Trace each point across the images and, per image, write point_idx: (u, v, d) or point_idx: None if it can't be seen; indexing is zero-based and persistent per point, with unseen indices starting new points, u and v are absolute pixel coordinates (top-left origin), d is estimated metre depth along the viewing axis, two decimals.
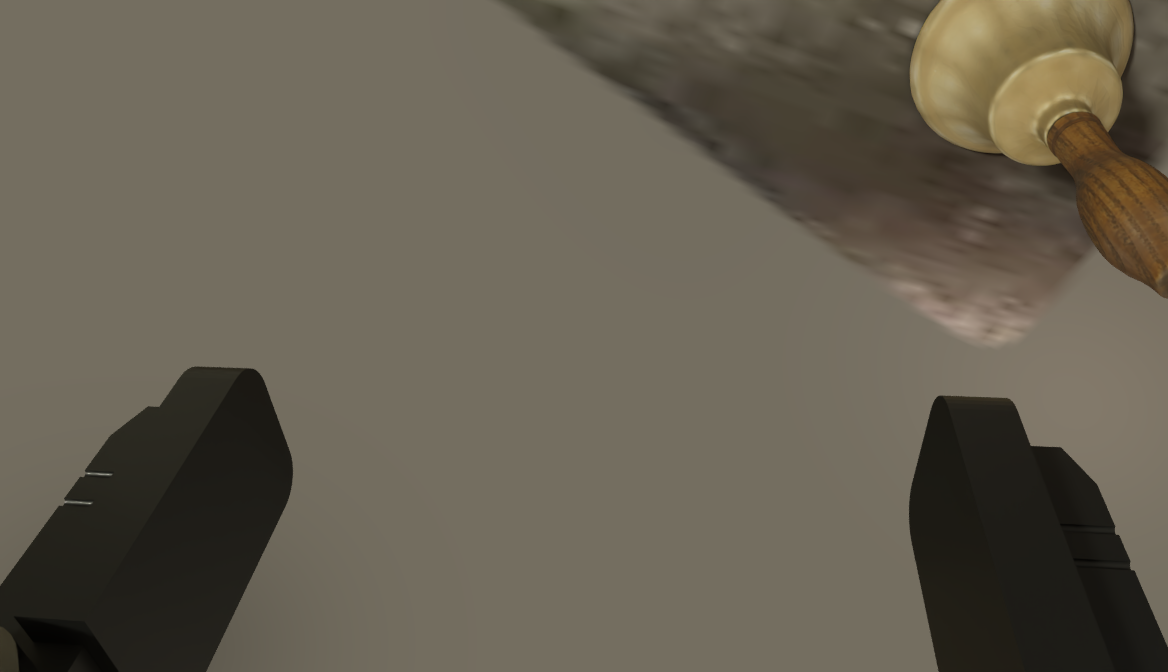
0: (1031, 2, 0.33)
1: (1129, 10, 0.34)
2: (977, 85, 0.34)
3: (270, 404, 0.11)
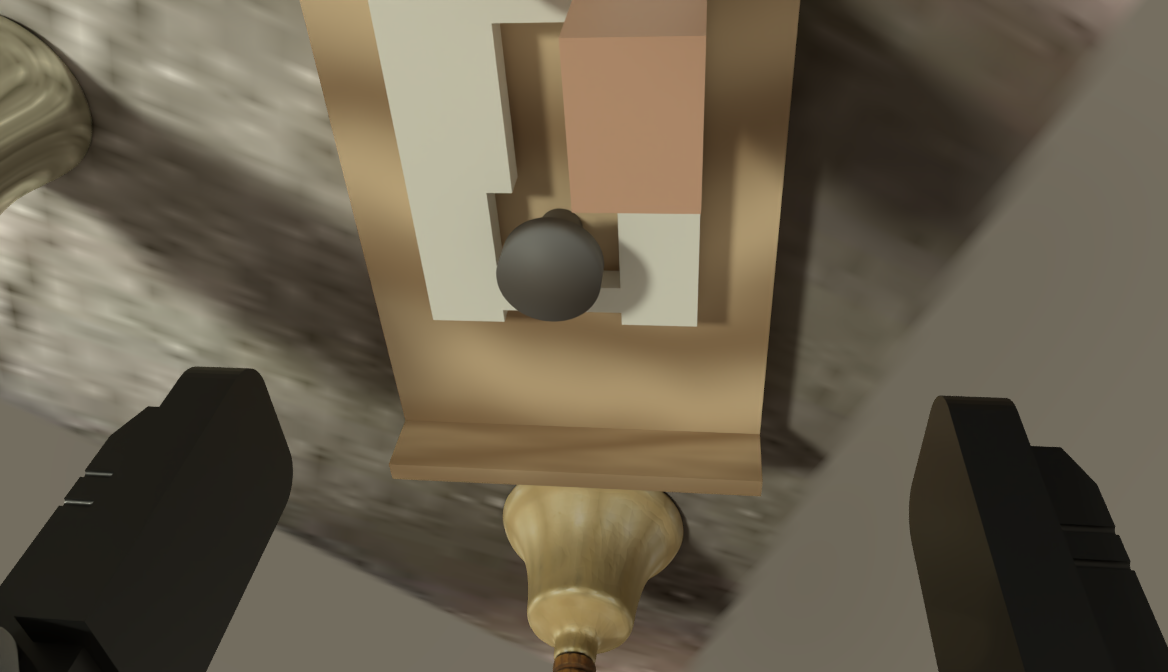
0: (568, 517, 0.38)
1: (668, 507, 0.39)
2: (528, 582, 0.39)
3: (270, 404, 0.11)
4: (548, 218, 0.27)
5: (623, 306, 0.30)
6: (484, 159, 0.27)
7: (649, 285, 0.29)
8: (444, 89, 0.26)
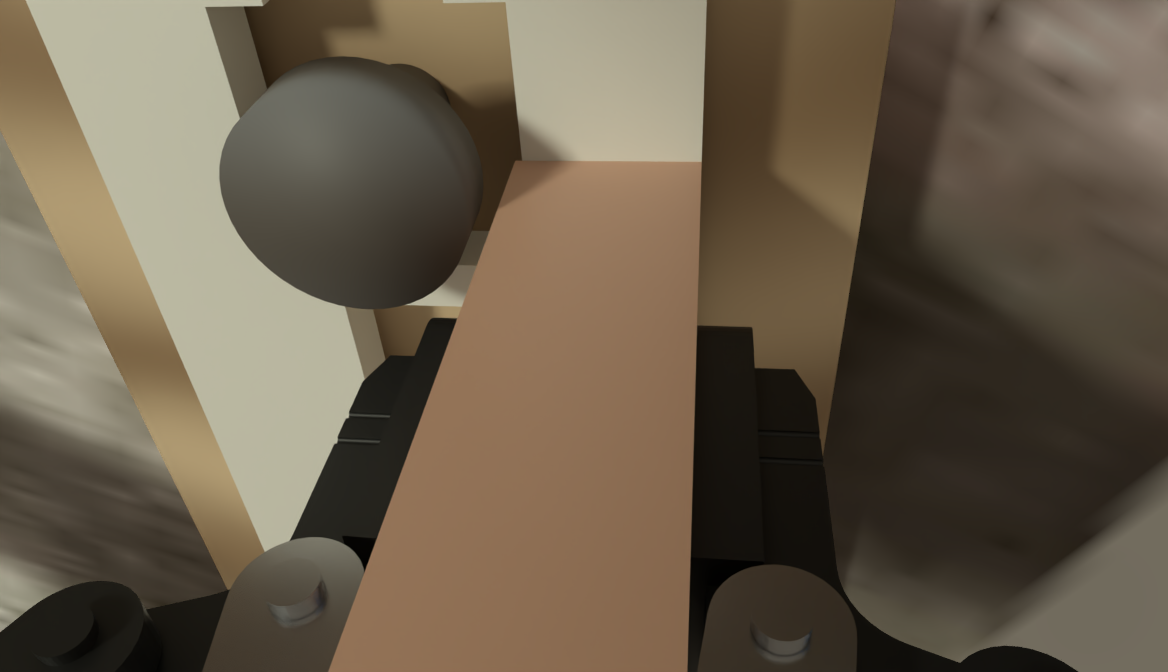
0: None
1: None
2: None
3: None
4: None
5: None
6: None
7: None
8: (281, 385, 0.16)
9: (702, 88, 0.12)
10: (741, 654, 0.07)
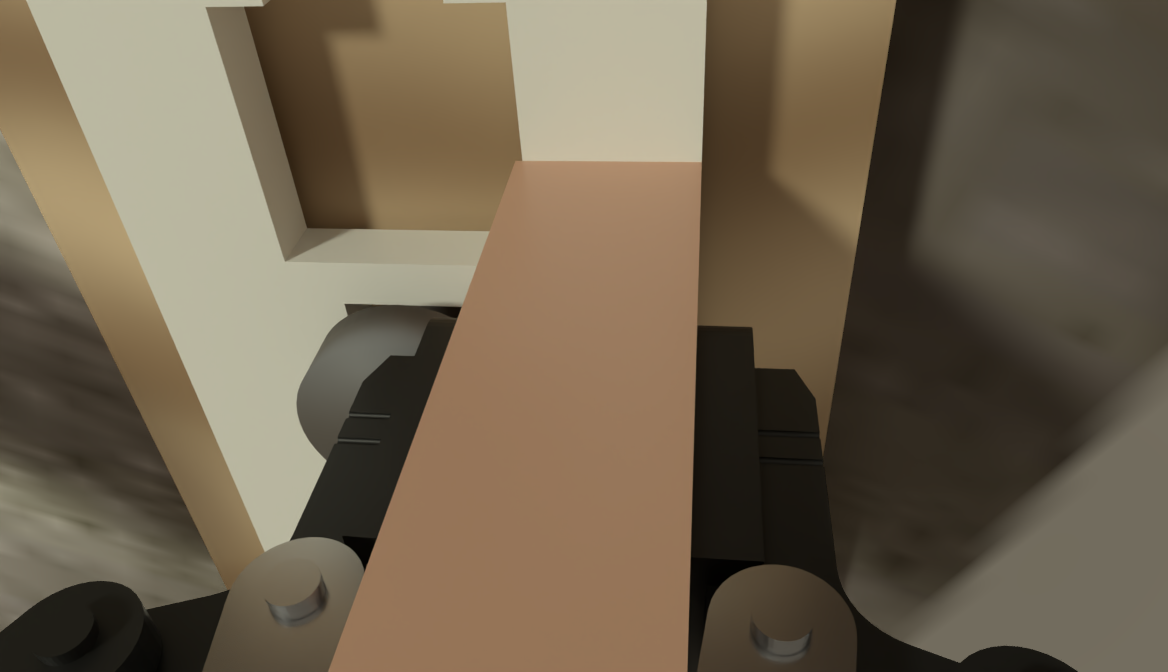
0: None
1: None
2: None
3: None
4: (396, 308, 0.14)
5: None
6: None
7: None
8: (281, 385, 0.16)
9: (702, 88, 0.12)
10: (741, 654, 0.07)
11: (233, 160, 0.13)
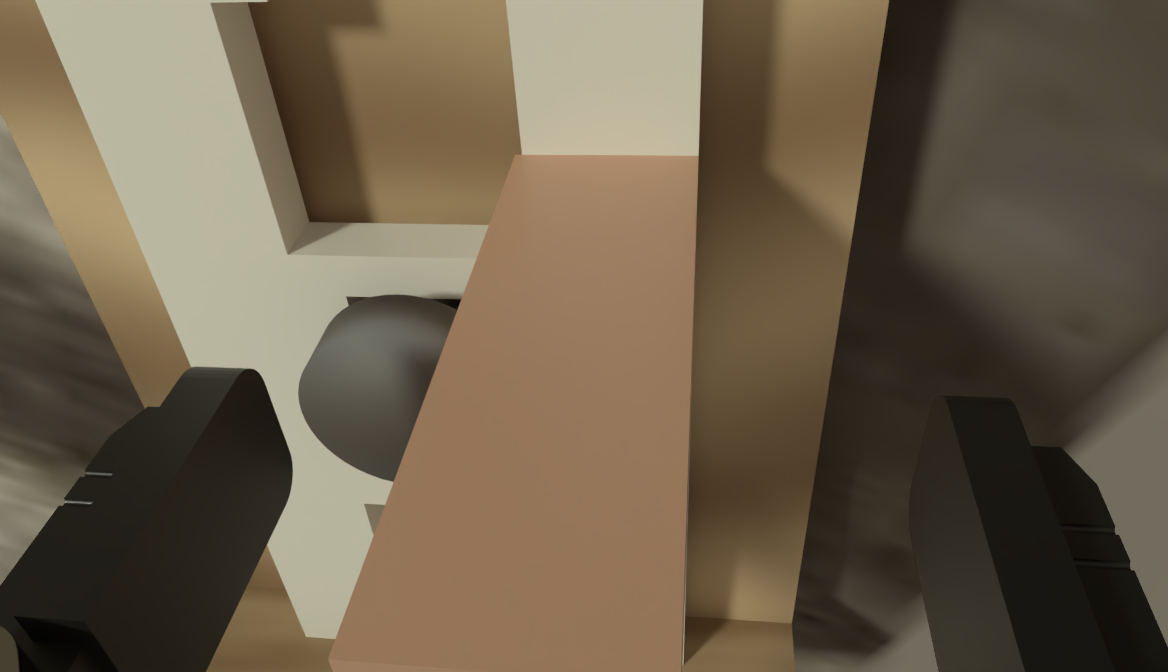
0: None
1: None
2: None
3: (270, 404, 0.11)
4: (397, 297, 0.14)
5: None
6: None
7: None
8: (283, 377, 0.16)
9: (699, 83, 0.12)
10: None
11: (237, 154, 0.13)
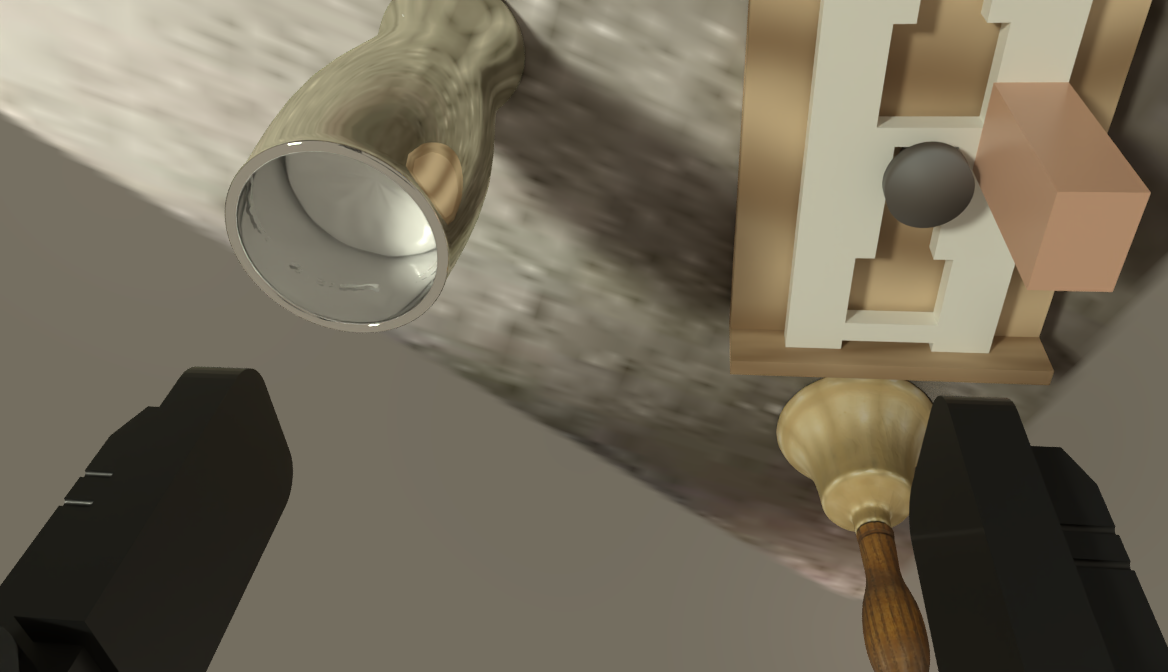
0: (854, 415, 0.45)
1: None
2: (816, 472, 0.46)
3: (270, 404, 0.11)
4: (933, 142, 0.34)
5: (936, 338, 0.40)
6: (861, 235, 0.38)
7: (960, 323, 0.40)
8: (846, 188, 0.36)
9: (1076, 53, 0.32)
10: None
11: (875, 83, 0.34)
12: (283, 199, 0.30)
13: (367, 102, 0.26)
